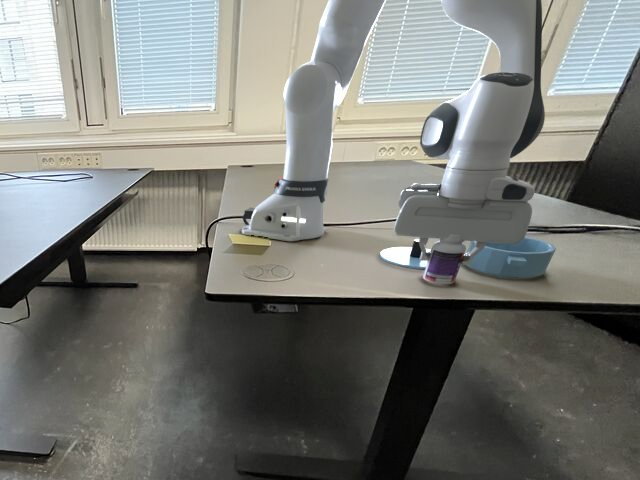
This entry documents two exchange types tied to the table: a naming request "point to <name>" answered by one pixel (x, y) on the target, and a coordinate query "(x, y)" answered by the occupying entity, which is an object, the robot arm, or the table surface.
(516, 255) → the pan
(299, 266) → the table surface
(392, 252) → the pan lid
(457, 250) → the pill bottle
